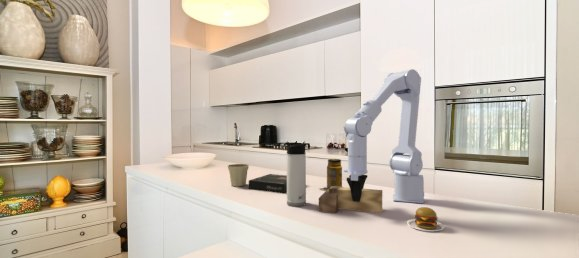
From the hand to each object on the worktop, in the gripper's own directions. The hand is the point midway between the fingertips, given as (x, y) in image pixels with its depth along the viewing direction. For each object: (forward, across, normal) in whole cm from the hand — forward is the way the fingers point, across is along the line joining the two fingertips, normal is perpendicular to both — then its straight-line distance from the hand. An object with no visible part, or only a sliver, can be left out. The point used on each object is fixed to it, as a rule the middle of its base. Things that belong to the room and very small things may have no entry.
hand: (357, 199), depth 93 cm
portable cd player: (+3, -21, -36) cm, 41 cm away
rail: (+3, 0, 0) cm, 3 cm away
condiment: (+3, -24, -12) cm, 27 cm away
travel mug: (+3, +1, -20) cm, 20 cm away
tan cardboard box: (+3, 0, -8) cm, 8 cm away
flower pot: (+3, -19, -52) cm, 56 cm away
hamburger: (+4, +10, +18) cm, 21 cm away
